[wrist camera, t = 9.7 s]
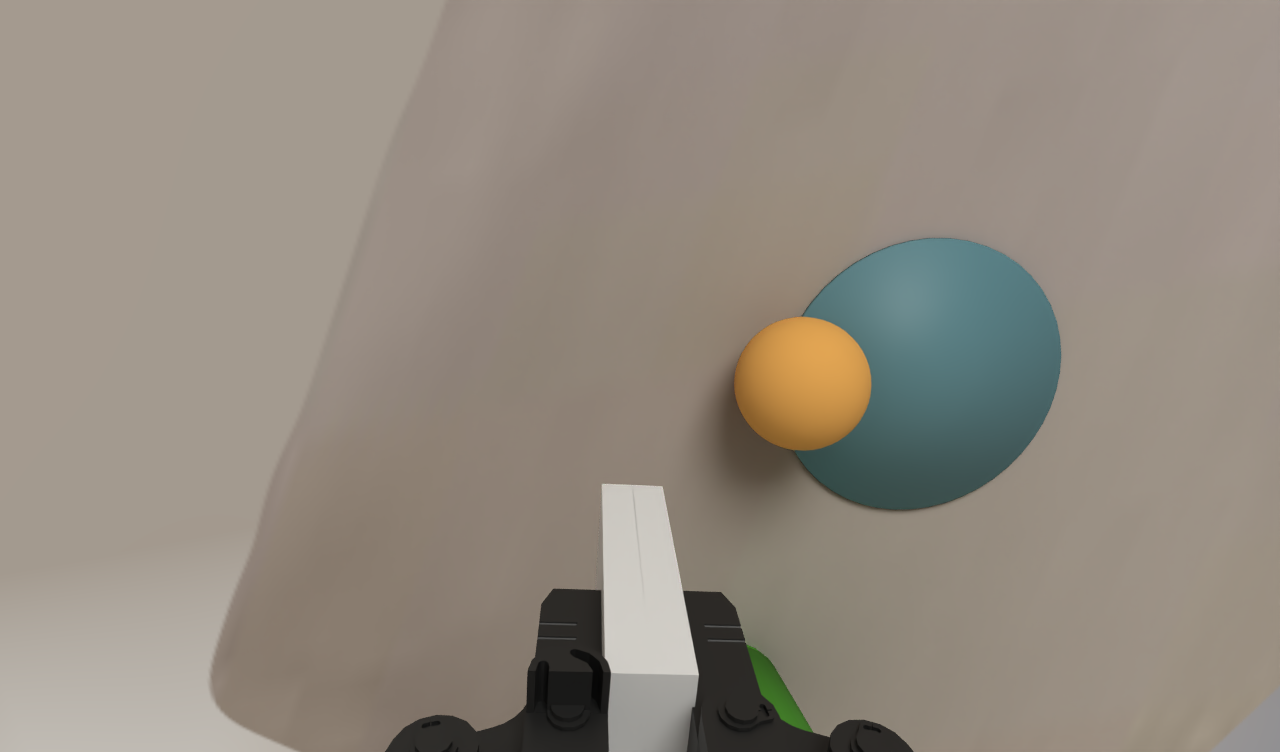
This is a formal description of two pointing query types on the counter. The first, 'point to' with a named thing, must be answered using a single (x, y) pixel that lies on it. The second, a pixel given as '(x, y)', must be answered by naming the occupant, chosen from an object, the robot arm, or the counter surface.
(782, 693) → the green tapered cylinder
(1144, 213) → the counter surface
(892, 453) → the teal ellipsoid
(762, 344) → the ball
